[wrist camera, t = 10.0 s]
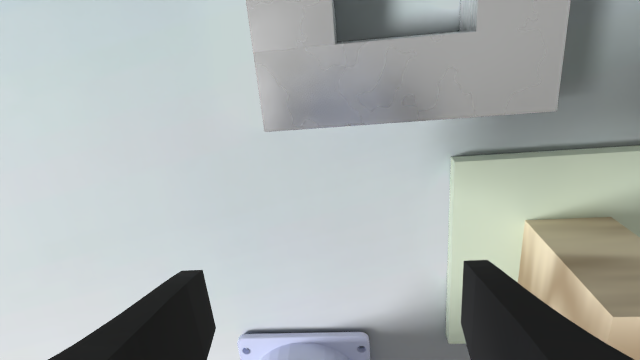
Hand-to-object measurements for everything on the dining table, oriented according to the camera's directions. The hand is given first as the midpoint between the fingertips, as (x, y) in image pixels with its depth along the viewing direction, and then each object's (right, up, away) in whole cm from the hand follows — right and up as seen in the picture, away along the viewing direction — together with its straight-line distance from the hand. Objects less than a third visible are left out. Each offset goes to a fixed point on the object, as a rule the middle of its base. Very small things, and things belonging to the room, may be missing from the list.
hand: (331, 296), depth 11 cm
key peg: (+12, -1, +9) cm, 15 cm away
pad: (+12, 0, +10) cm, 16 cm away
